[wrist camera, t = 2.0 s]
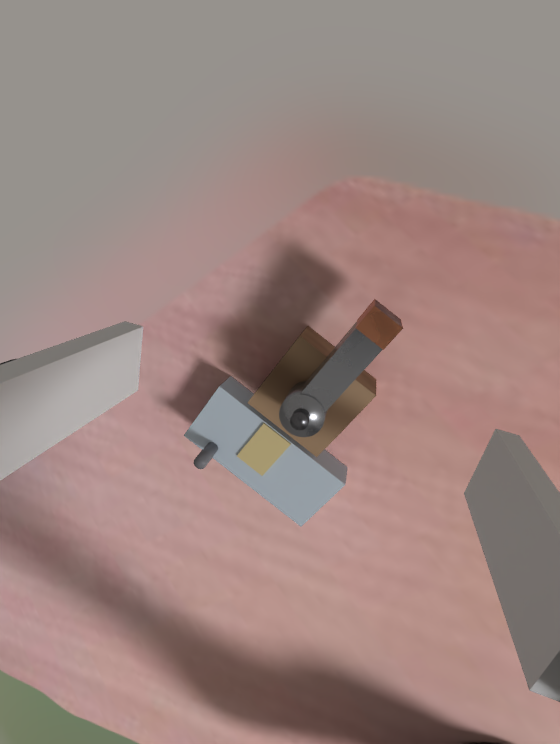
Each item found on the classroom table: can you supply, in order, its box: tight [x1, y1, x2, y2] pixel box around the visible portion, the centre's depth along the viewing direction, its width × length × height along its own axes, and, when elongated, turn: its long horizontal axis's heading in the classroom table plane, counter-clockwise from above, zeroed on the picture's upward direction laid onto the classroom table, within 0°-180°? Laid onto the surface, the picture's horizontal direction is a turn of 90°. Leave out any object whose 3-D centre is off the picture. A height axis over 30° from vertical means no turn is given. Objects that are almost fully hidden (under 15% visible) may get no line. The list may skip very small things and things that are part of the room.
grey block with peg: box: [184, 376, 348, 526], centre depth 38 cm, size 7×15×6 cm, turn 54°
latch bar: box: [279, 299, 403, 437], centre depth 30 cm, size 12×4×4 cm, turn 144°
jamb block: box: [248, 326, 376, 457], centre depth 35 cm, size 8×8×4 cm
